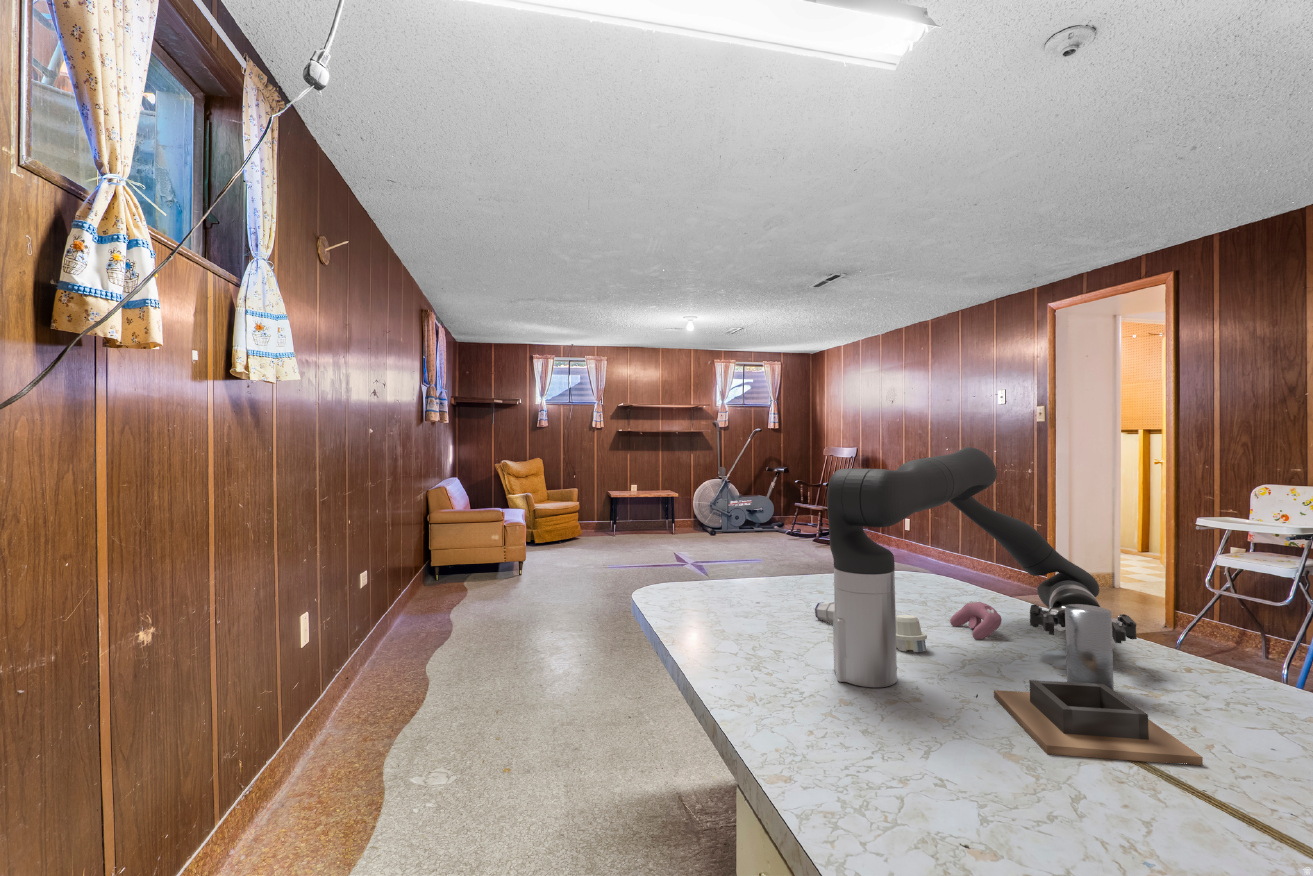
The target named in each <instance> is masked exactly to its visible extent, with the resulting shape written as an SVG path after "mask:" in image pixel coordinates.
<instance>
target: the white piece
mask: <svg viewBox="0 0 1313 876" xmlns="http://www.w3.org/2000/svg"><path fill="white" fill-rule="evenodd" d="M834 610H835V605H834V601H833V602H832V601H831V602H823V601H821V602H818V603H817V604H816V605H815V608H814V615H815V618H816V619H817V620H819V621H822V620H823V621H822V622H825V621H826V622H825V623H829V624H831V625H833V611H834ZM927 639H928V635H927V633H926V632H924V631H922V628H921V624H920V619H918V617H917V616H916V615H912V614H899V615H896V649H898V651H902V652H908V650H909V651H912V652H913V653H918V652H919V653H920V652H924V651H927V645H926V640H927Z"/></svg>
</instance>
